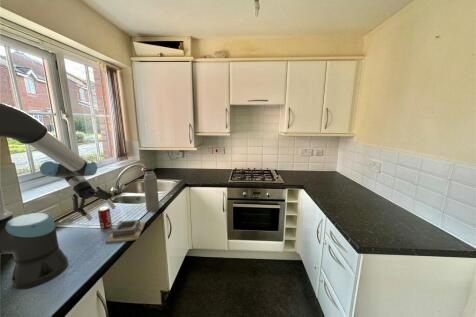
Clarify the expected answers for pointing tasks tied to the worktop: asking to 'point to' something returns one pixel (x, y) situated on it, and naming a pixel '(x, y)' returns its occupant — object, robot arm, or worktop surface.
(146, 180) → the thermos bottle
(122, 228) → the square socket dock
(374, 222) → the worktop surface
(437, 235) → the worktop surface
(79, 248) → the worktop surface
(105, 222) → the soda can
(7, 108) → the robot arm
